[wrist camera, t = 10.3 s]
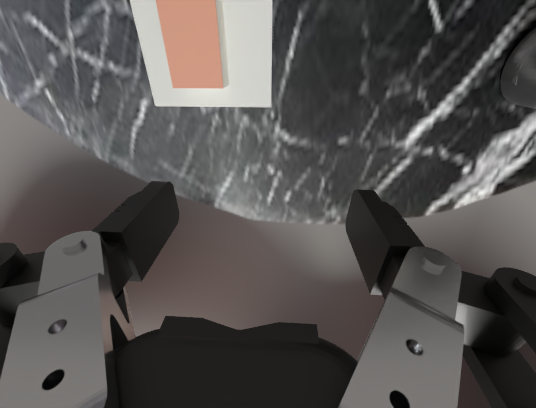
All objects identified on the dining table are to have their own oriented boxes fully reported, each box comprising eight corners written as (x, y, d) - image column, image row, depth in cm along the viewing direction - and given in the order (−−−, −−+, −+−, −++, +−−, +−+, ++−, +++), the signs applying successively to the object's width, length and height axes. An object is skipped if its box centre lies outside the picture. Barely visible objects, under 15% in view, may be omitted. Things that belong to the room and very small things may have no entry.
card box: (165, -28, 23) (147, -43, 20) (220, -28, 23) (211, -43, 19) (184, 84, 28) (172, 88, 25) (229, 84, 28) (223, 88, 25)
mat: (273, -62, 22) (273, -65, 21) (271, 106, 30) (271, 107, 30) (117, -62, 22) (114, -65, 22) (157, 105, 30) (155, 106, 30)
